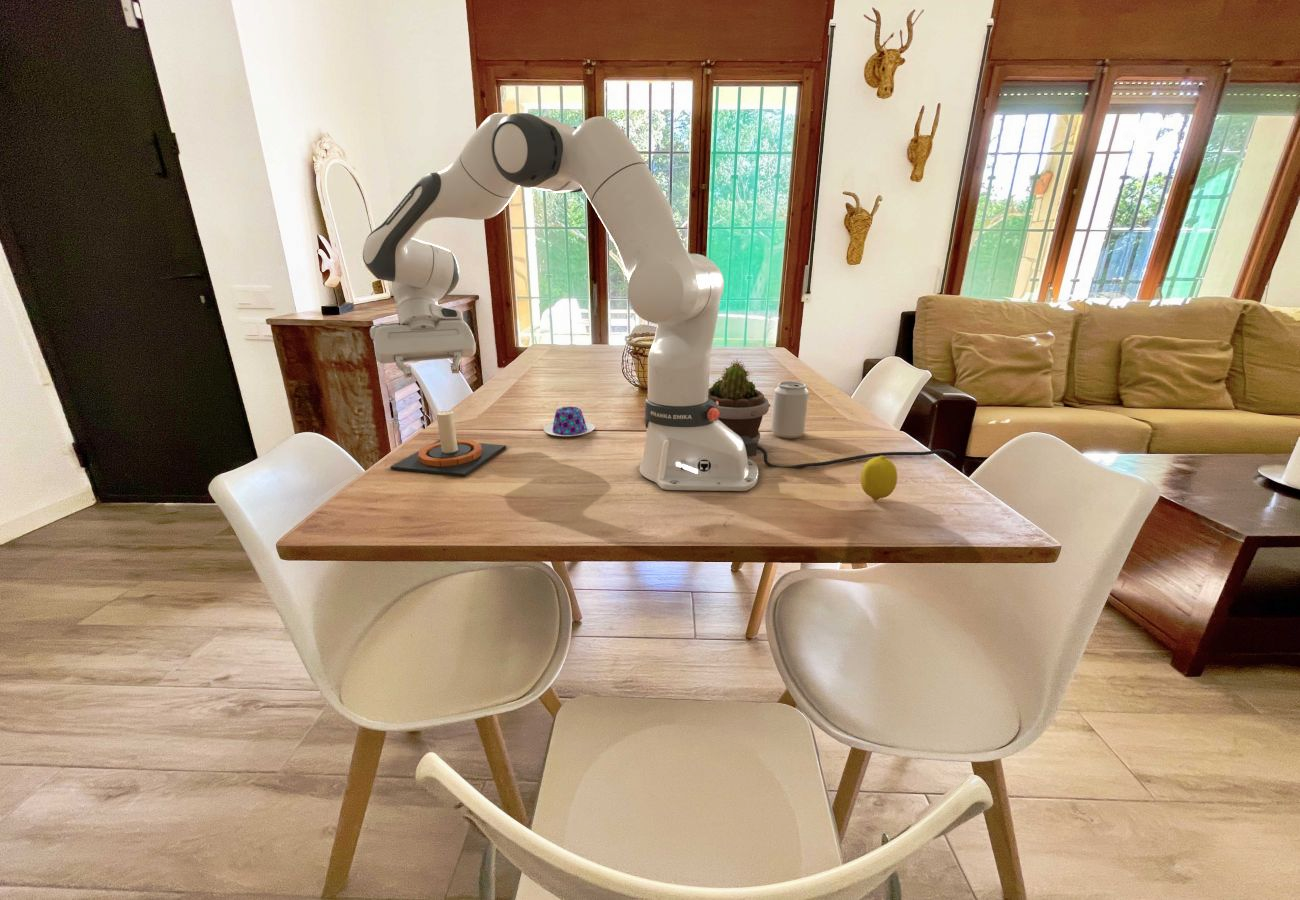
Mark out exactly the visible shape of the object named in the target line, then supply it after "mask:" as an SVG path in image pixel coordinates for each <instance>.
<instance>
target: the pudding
mask: <svg viewBox="0 0 1300 900" xmlns="http://www.w3.org/2000/svg"><path fill="white" fill-rule="evenodd" d="M595 429H596V426H595V424H593V423H592V422H590V421H585V417H584V415H583V411H582V409H581V408H579V407H577V406H561V407H560V408H557V409H556V410H555V414H554V419H553V422H551V423H548V424H546V426H544V427H543V432H544V433H546V434H549V435H551V436H555V437H576V436H581V435H585V434H589V433H591V432H593V431H594V430H595Z"/></svg>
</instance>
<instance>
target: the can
mask: <svg viewBox="0 0 1300 900" xmlns="http://www.w3.org/2000/svg"><path fill="white" fill-rule="evenodd" d="M806 387H807V384H806V383H804V382H800V381H792V380H785V381H779V382H778V383H777V387H775V388H774V390H773V402H772V411H771V424H770V431H771V432H772V433H773V434H774V436H776V437H778V438H783V439H797V438H800V437H801V436H802V435H804V434H805V430H806V429H805V428H806V420H807V413H808V401H809V394H810V391H808V389H807V388H806Z"/></svg>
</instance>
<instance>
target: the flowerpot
mask: <svg viewBox="0 0 1300 900" xmlns="http://www.w3.org/2000/svg"><path fill="white" fill-rule="evenodd" d="M744 362H745V361H743V360H740V361H739V357H737V358H736V359H734V360H733V359H732V362H730V363H731V364H730V366H728V367H727V365H726V366H725V367H722V368H723V371H722V374H721V375H720V378H718V379H715V380H716V381H715V380H712V381H713V382H714V383H713V384H712V386H711V387H709V391H708V398H709V399H711V400H712V401H714V402H715V403H716V401H718V403H719V404H718V405H719V412H720V414H719V417H718V420H720V421H721V422H722V423H723V424H725V425H726V426H727V427H728V428H730V429H731V430H732V431H733V432H735V433H736V434H737V435H739V436H740V437H741V436H748V437H749V438H751V439H753V440H754V441H756V442H757V444H758V443H759V441H760V439H761V433H760V431H759V429H760V426H761V424H762V420H763V416H765V415H766V414H767V413H768V412H769V409H770V408H771V404H770V402H769V400H768V398H766V397H765V395H764V394H763V392H762V391H761V390H758V389H756V388H757V387H756V383H754V381H751V377H749V376H750V375H751V373H750V372H751V371H749V369H748V368H747V366H746V365H745V364H744ZM746 368H747V370H746Z"/></svg>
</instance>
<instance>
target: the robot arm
mask: <svg viewBox="0 0 1300 900" xmlns="http://www.w3.org/2000/svg"><path fill="white" fill-rule="evenodd" d="M519 187H522V188H527V189H530V188H532V189H536V190H541V191H546V192H548V193H567V192H568V193H573V194H574V193H580V192H584V194H585V195H586V197H587V199H588V200H589V202H590V204H591V206H592V208H593V209H594V211H595V213H596V214H597V217H598V218H599V219H600V221H601V223H602V224H603V226H604V228H605V230H606V232H607V233H608V235H609V236H610V238H611V240H612V242H613V243H614V245H615V248H616V250H617V251H618V255H619V258H620V260H621V263H622V266H623V269H624V273H625V275H626V279H627V287H626V288H627V291H626V292H627V299H628V302H629V305H630V307H631V308H632V310H633V312H634V313H635V314H636V315H637V316H638V317H639V318H641V319H642V320H644V321H646V322H649V323H651V324H656V329H655V333H654V338H653V342H652V345H651V347H650V349H649V350H648V351H649V352H648V354H647V398H645V403H644V423H645V429H646V433H645V442H644V448H643V454H642V458H641V461H640V465H639V467H638V469H639V473H640V474H641V476H642V477H644V478H645V479H647V480H649V481H651V482H654V483H656V485H657V486H659V487H660V489H662V490H666V491H704V492H705V491H707V492H708V491H709V492H710V491H714V492H719V491H720V492H747V491H749V490H751V489H752V488H753V487H755V486H756V484H757V482H758V480H759V468H758V465H757V463H756V462H754V461H753V460H752V459H750V457H757V452H758V451H760V452H761V453H762V455H763V462H764V464H765V465H766V466H768V467H770V468H783V469H802V468H813V467H821V466H822V467H824V466H828V465H835V464H840V463H845V462H850V461H855V460H856V461H857V460H862V459H867V458H875V457H879V456H885V457H887V456H929V455H935V454H946V455H948V456H949V457H950V458H953V459H955V458H956V455H955V454H954V453H953V452H952V451H949V450H946V449H935V450H928V451H885V452H884V451H883V452H871V453H866V454H860V455H855V456H847V457H843V458H837V459H832V460H831V459H830V460H826V461H820V462H807V463H799V464H794V465H788V466H787V465H786V466H785V465H784V466H781V465H776V464H773V463H771V462H770V461H768V460H769V459H768V451H766V449H765V448H763V447H762V446H760V445H758V443H757V442H756V441H754V440H753V439H751V438H749V437H748V436H741V437H740V436H739V435H737V434H736V433H735V432H733V431H732V430H731V429H730V428H728V427H727V426H726V425H725V424H723V423H722V422H721V421H720V420H718V417H719V414H720V412H719V405H718V404H719V403H718V401H716V403H715V402H714V401H712V400H711V399H709V398H708V391H709V388H710V386H709V385H710V368H711V367H710V366H711V365H710V364H711V354H712V347H713V341H714V337H715V333H716V328H717V322H718V316H719V310H720V304H721V299H722V296H723V293H724V289H725V280H724V276H723V273H722V271H721V269H720V268H719V267H718V266H717V264H716V263H715V262H714V261H712V260H711V259H710V258H708V257H707V256H705V255H703V254H699V253H689V252H688V250H687V248H686V247H685V245H684V244H683V241H682V239H681V237H680V235H679V232H678V229H677V226H676V224H675V223H676V222H675V220H674V216H673V213H674V212H673V208H672V205H671V204H670V202H669V200H668V199H667V197H666V196H665V193H664V192H663V190H662V189H661V187H660V185H659V183H658V182H657V180H656V178H655V177H654V175H653V173H652V171H651V170H650V168H649V166H648V164H647V163H646V161H645V159H644V158H643V157H642V154H641V153H640V151H638V149H637V148H636V146H635V144H634V143H633V142H632V140H631V139H630V138H629V137H628V136H627V134H626V133H625V132H624V131H623V130H622V128H620V126H618V124H617V123H616V122H615V121H614V120H612V119H611V118H609V117H607V116H601V115H599V116H598V115H597V116H593V117H590V118H588V119H585V120H584V121H582V122H581V123H580V124H579V125H578V126H577V127H576V126H572V125H570V124H567V123H564V122H562V121H560V120H558V119H555V118H551V117H546V116H541V115H535V114H532V113H527V112H526V113H525V112H518V113H517V112H516V113H512V114H511V113H510V114H508V113H504V112H494V113H492V114H490V115H489V116H487V117H486V118H485V120H483V122H481V124H480V125H479V126H478V127H477V128H476V130H475V131H474V132H473V133H472V135H471V136H470V137H469V139H468V140H467V142H466V143H465V144H464V147H463V148H462V150H461V151H460V153H459V155H458V157H457V158H456V159H455V160H454V161H453V162H452V163H451V164H449V165H447V166H446V167H445V168H443V169H441V170H439V171H436V172H428V173H426V174H425V175H423V176H422V177H421V178H420V179H419V180H418V181H417V182H416V183H415V184H414V185H413V187H412V188H411V189H410V190H409V191H408V192H407V194H406V195H404V197H403V199H402V200H401V201H400V202H399V203H398V204H397V205H396V207H395V208H394V209H393V211H392V212H391V213H390V214H389V215H388V216H387V217H386V219H385V220H384V221H383V222H382V223H381V224H380V225H379V226H377V227H376V228H375V229H373V231H371V232H370V233H369V234H368V236H367V237H366V239H365V242H364V243H363V249H362V260H363V263H364V265H365V267H366V268H367V269H368V271H369V272H370V273H371V274H372V275H373V276H374V277H375V278H376V279H377V280H381V281H387V282H391V287H392V288H391V289H392V295H393V299H394V301H395V303H396V314H397V319H398V322H389V323H376V325H373V326H371V327H370V328H369V336H370V338H371V340H372V341H373V343H374V353H375V359H376V361H377V362H379V363H380V364H382V365H384V364H385V365H386V364H395V365H396V367H397V368H398V369H399V370H400V371H401V372H403V376H404V378H405V379H407V378H408V379H409V378H413V372H412V367H411V366H407V365H406V364H405V363H409V362H420V361H434V360H436V361H437V360H447V359H453V360H454V362H450V371H451V374H460V364H461V362H462V358H472V357H474V356H475V354H476V351H477V344H476V341H475V337H474V334H473V331H472V330H471V327H470V326H469V324H468V323H467V322H466V321H464V316H463V312H462V311H461V310H459V309H454V308H450V307H444V306H441V305H439V304H438V301H439V300H440V301H441V300H443V299H444V298H446V297H447V296H448V295H449V294H450V293H452V292H453V291H454V290H455V289H456V287H457V285H458V283H459V280H460V268H459V264H458V261H457V258H456V256H455V255H454V253H453V251H451V250H450V249H448V248H445V247H442V246H439V245H437V244H433V243H431V242H426V241H424V240H421V239H417V238H414V237H415V236H416V234H417V233H418V232H419V231H420V230H421V228H423V226H424V225H425V224H426V223H427V222H429V221H431V220H434V219H443V218H453V219H454V218H455V219H456V218H457V219H465V220H466V219H467V220H473V221H474V220H475V221H479V220H481V221H482V220H487V219H492V218H494V217H496V216H497V215H498V214H500V213H501V212H502V211H503V210H504V209H505V207H507V205H508V204H509V202H510V201H511V199H512V198H513V196H514V195H515V193H516V191H517V190H518V188H519Z"/></svg>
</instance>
